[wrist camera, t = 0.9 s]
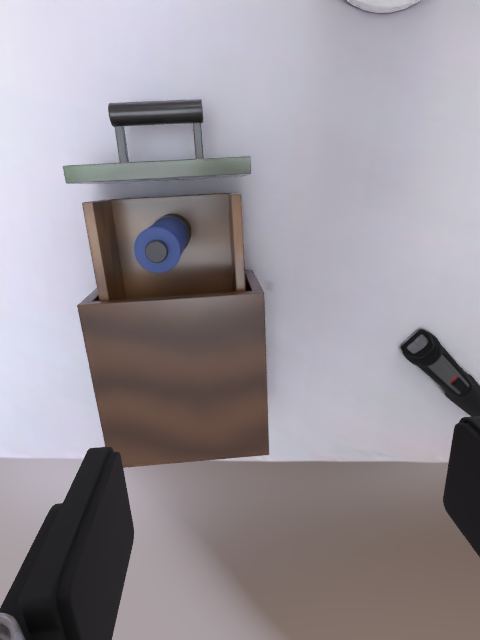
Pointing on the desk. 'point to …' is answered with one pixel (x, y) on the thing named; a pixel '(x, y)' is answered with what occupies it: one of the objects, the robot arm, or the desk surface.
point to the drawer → (163, 213)
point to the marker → (162, 243)
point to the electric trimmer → (443, 370)
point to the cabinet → (180, 374)
